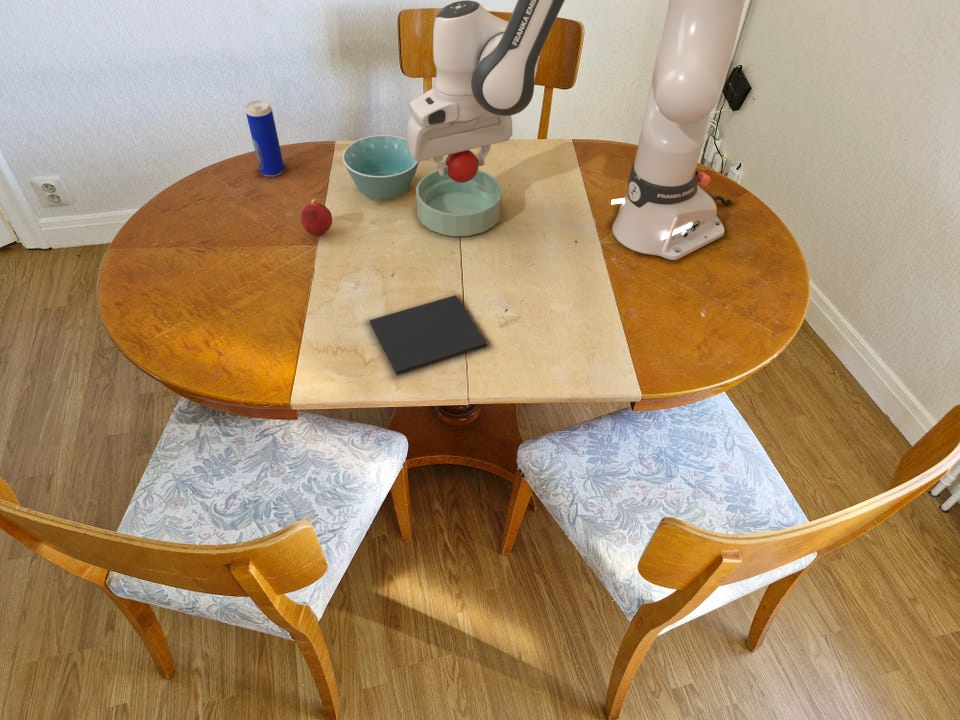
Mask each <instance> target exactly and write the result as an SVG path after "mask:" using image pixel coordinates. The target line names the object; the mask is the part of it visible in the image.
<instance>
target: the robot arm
mask: <svg viewBox="0 0 960 720" xmlns="http://www.w3.org/2000/svg"><path fill="white" fill-rule="evenodd" d="M565 1H566V0H517V1H516V4H515V5H514V9H513V11H512V13H511V15H510V17H509V20H505V19H503V18H500V17H499V16H496V15H494V14H492V13H491V12H489V11H488V10H487V9H486V8H485V7H484V6H483V5H482V4H481V3H480V2H478V1H474V0H459V1H455V2H452V3H450V4H447V5H445V6H444V7H442V8H441V9H440V10H439V12H438V13H437V15H436V16H435V19H434V23H433V32H432V33H433V36H432V43H433V44H432V51H433V52H432V54H433V55H432V56H433V63H434V67H435V71H436V74H435V75H436V76H435V79H434V86H433V87H432V88H431V89H429V90H428V91H426V92H424V93H423V94H421V95H420V96H417V97H416V98H414V99H412V100H411V101H410V102H409V110H410V113H411V114H412V115H411V116H410V117H409V120H408V123H407V130H406V131H407V133H406V134H407V135H406V139H407V145H408V151H409V153H410V155H411V156H412V157H413V158H414V159H415V160H416V161H418V162H419V163H420V162H421V163H422V162H424V161H425V162H426V161H429V160H434V162H435V163H436V164H437V170H438V171H439V174H440V175H441V176H443V175H447V174H449V172H448V170H449V167H448V165H446V163H445V162H442V161H444V157H445V156H448V155H450V154H454V153H458V152H462V151H466V150H470V151H471V150H475V149H478V148H479V151H478V153H477V154H474V155H475V156H476V158H477V160H478V168H479V167H483V166H485V164H486V158H487V157H488V155H489V153H490V151H491V145H496V144H499V143H503V142H508V141H510V139H511V138H512V136H513V120H512V119H513V118H512V116H515V115H517V114H519V113H521V112H523V111H524V110H525V109H526V108H527V107H528V106H529V104H530V103H531V102H532V99H533V96H534V92H535V82H536V81H535V80H536V77H537V72H538V69H539V63H540V59H541V53H542V50H543V48H544V45H545V44H546V42H547V39H548V37H549V35H550V33H551V31H552V28H553V26H554V24H555V22H556V20H557V18H558V16H559V13H560V11H561V9H562V7H563V5H564V3H565ZM745 2H746V0H669V1H668V5H667V11H666V15H665V19H664V25H663V29H662V33H661V38H660V40H659V42H658V47H657V52H656V55H655V59H654V64H653V65H654V66H653V69H652V75H651V80H650V84H649V90H648V95H647V100H646V105H645V111H644V115H643V120H642V124H641V129H640V134H639V138H638V142H637V143H638V144H637V149H636V154H635V158H634V161H632V164H631V167H630V170H629V175H628V179H627V187H626V188H627V190H626V191H625V195H624V197H622V198H615V199H612V200H611V202H610V204H611V205H616V204H617V205H618V204H620V206H619V209H618V214H617V215H616V217H615V219H614V221H613V222H612V226H611V227H612V228H611V230H612V233H613V236H614V238H615V239H616V240H617V241H618V242H619V243H620V244H621V245H623V246H624V247H626V248H628V249H629V250H631V251H633V252H637V253H640V254H645V255H652V256H657V257H661V258H663V259H666V260H669V261H678V260H680V259H682V258H684V257H686V256H687V255H689V254H692V253H693V252H695V251H697V250H699V249H702V247H704V246H707V245H708V244H711V243H713V242H714V241H716V240H718V239H721V238H722V237H724V236H725V232H726V231H725V227H724V224H723V223H722V221H721V220H720V219H719V217H718V216H717V214H718V213H717V212H718V209H717V207H718V206H717V204H716V202H717V201H720V202H721V204H723V205H728V204H730V203H732V200H731V199H730V198H728V199H727V200H725V198H724V197H723V196H722V195H721V196H720V195H714V194H712V193H710V192H709V191H708V190H706V189H705V188H703V187H706V186H708V185H709V183H711V180H712V177H711V175H709V174H707V173H706V172H705V171H701V172H700V171H698V170H699V169H698V168H697V166H698V163H699V159H700V156H701V152H702V148H703V145H704V141H705V138H706V135H707V129H708V123H709V119H710V115H711V112H712V111H713V110H714V109H715V107H716V105H717V103H718V101H719V99H720V98H721V95H722V92H723V89H724V86H725V82H726V79H727V75H728V72H729V67H730V65H731V64H730V63H731V60H732V56H733V52H734V48H735V44H736V40H737V36H738V31H739V28H740V25H741V24H740V23H741V20H742V14H743V12H744V11H743V10H744V7H745ZM698 182H699V183H700V185H701V186H703V187H701V186H700V185H699V184H698Z"/></svg>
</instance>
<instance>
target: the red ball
mask: <svg viewBox="0 0 960 720" xmlns="http://www.w3.org/2000/svg"><path fill="white" fill-rule="evenodd" d="M475 155H476V154H475V153H474V152H473V151H471V150H466V151H462V152H458V153H454V154H450V155H447V156H446V159H445V162H444V163H446V165H448V167H449V170H448V172H449V174H448V176H449V177H450V178H451V179H452V180H453V181H455V182H459V183H465V182H468V181H470V180H472V179H473V178H474V177H475V175H476V174H477V171H478V170H479V167H478V160H477V158H476V156H475Z"/></svg>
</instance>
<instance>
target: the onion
mask: <svg viewBox="0 0 960 720" xmlns="http://www.w3.org/2000/svg"><path fill="white" fill-rule="evenodd" d="M300 223H301V225H302V227H303V229H304V230H305V231H306V232H307V233H309V234H310V235H313V236H316V237H321V236H323V235H325V234H326V233H327V232H329V230H330V229H331V227H332V225H333V215H332V212H331V210H330V209H329V208H328V207H327V206H326V205H325V204H323V203H321V202H319V201H318V199H316V198H313V199H311V201H310V203H309V204H307V205H306V206H304V208H303V210H302V211H301V215H300Z"/></svg>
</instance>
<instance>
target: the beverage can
mask: <svg viewBox="0 0 960 720" xmlns="http://www.w3.org/2000/svg"><path fill="white" fill-rule="evenodd" d="M245 115H246V119H247V123H248V127H249V132H250V137H251V140H252V144H253V149H254V152H255V157H256V161H257V165H258V169H259V172H260V173H261V174H262V175H263V176H265V177H268V178H274V177H278V176H280V175H281V174H283V172H284V170H285V164H284V161H283V155H282V151H281V146H280V141H279V137H278V136H279V135H278V132H277V127H276V122H275V117H274V112H273V108H272V106H271V104H270V103H269V102H268V101H266V100H261V99H260V100H253V101H250V102H249V103H247V104H246V105H245Z"/></svg>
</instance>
